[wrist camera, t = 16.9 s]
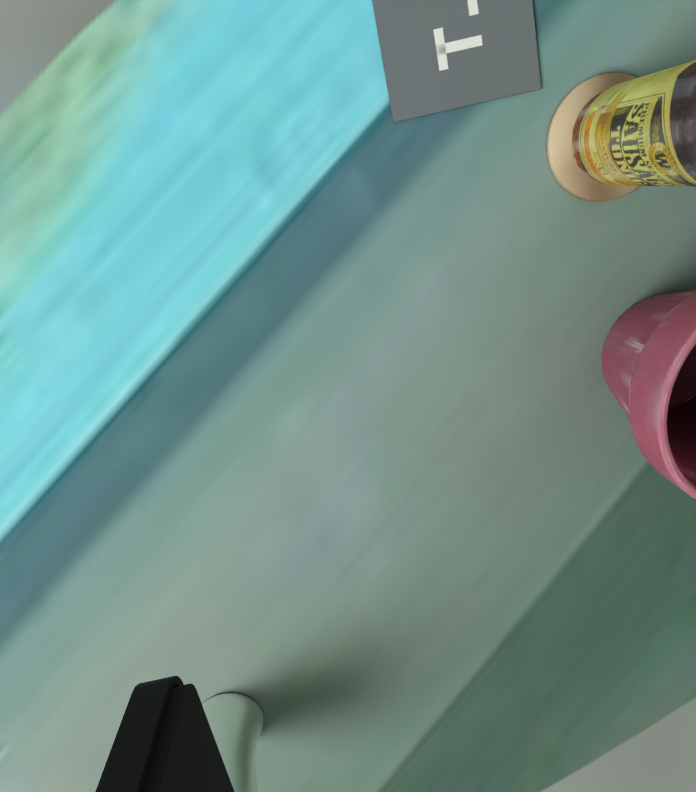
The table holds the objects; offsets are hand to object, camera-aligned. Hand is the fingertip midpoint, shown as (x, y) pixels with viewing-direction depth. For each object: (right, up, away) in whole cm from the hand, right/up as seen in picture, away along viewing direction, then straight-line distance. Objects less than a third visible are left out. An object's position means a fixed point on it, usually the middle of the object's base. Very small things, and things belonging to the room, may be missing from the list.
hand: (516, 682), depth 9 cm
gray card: (+4, +28, +29) cm, 41 cm away
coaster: (+15, +22, +32) cm, 42 cm away
